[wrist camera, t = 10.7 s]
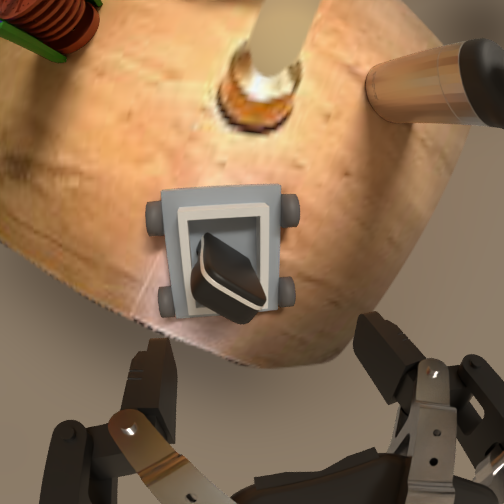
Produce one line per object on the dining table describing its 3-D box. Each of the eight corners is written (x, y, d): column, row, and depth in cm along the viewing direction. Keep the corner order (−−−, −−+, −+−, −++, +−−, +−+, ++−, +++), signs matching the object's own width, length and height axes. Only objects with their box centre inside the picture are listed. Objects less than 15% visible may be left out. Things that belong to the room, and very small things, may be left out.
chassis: (290, 183, 35) (300, 188, 31) (285, 302, 41) (294, 317, 37) (149, 191, 32) (143, 196, 28) (166, 313, 38) (163, 329, 34)
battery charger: (187, 254, 34) (183, 302, 24) (204, 229, 33) (207, 268, 23) (233, 282, 36) (248, 336, 26) (251, 259, 36) (273, 307, 25)
